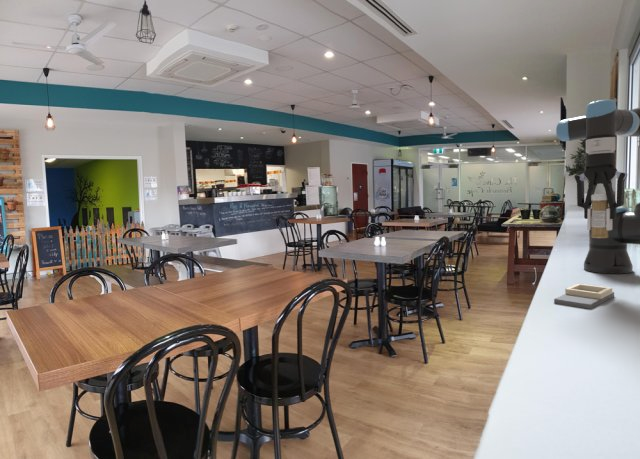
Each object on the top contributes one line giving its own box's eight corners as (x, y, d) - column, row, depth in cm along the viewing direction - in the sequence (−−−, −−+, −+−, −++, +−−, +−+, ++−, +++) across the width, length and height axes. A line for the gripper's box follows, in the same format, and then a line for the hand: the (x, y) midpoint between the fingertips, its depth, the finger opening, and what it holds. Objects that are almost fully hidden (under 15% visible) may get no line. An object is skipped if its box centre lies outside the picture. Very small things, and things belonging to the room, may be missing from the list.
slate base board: (579, 291, 128) (579, 282, 128) (614, 296, 121) (614, 287, 121) (554, 303, 117) (554, 293, 117) (590, 309, 110) (590, 298, 110)
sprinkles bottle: (597, 236, 132) (598, 193, 130) (612, 237, 127) (612, 193, 126) (587, 237, 130) (587, 194, 129) (601, 238, 126) (601, 194, 125)
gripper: (564, 155, 131) (564, 229, 133) (630, 149, 117) (629, 232, 119) (573, 156, 136) (573, 227, 138) (639, 150, 122) (638, 229, 124)
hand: (599, 229), depth 129 cm, fingers closed on sprinkles bottle, 4 cm apart
